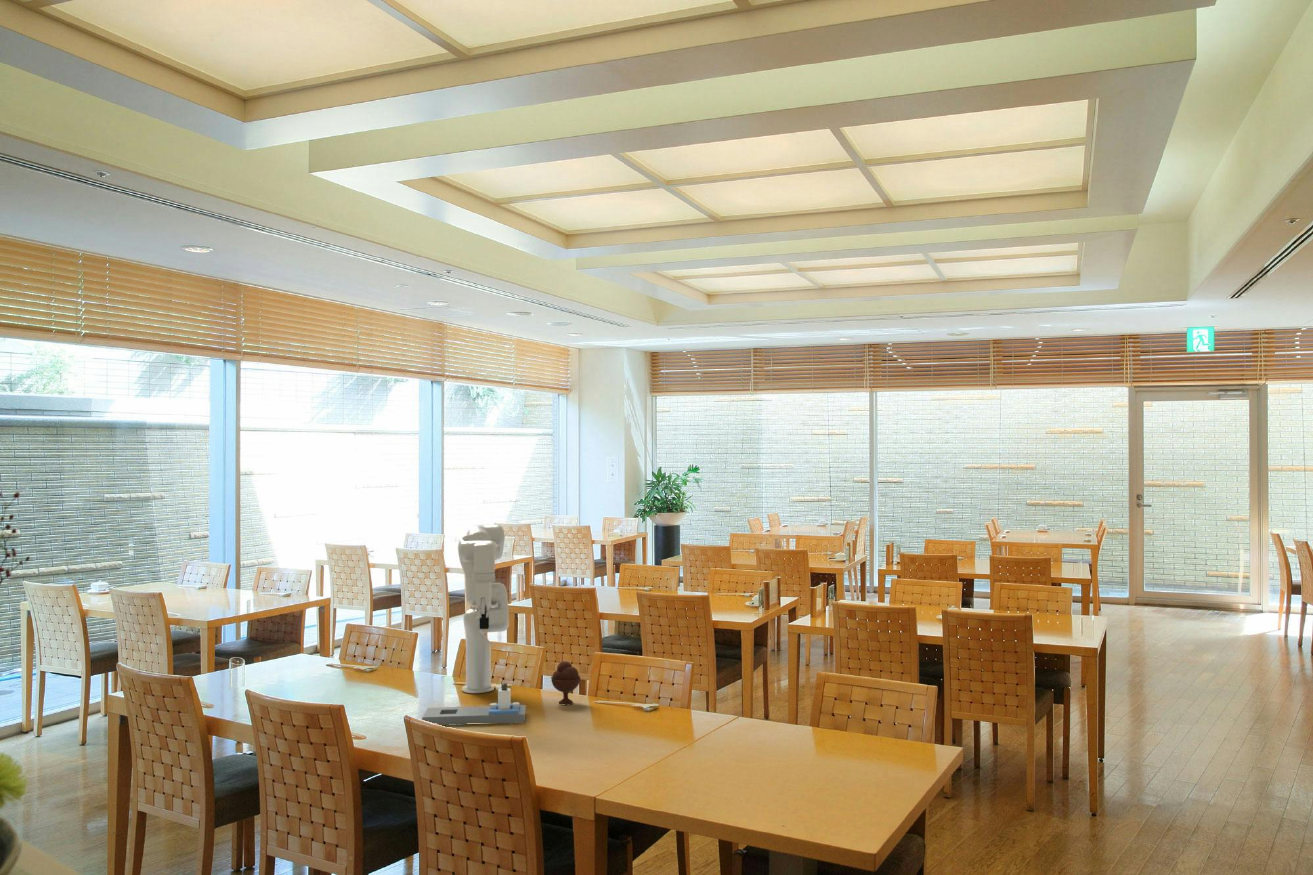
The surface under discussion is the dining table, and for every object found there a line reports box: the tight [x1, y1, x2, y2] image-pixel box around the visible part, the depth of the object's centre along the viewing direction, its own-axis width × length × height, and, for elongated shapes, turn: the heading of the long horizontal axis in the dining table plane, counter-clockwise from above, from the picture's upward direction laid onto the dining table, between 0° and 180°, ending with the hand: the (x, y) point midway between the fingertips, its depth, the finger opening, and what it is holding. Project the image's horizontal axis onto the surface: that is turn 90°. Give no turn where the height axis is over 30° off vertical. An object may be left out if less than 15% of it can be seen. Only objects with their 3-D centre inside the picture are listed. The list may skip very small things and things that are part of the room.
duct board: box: [421, 701, 527, 726], centre depth 319 cm, size 12×34×5 cm, turn 95°
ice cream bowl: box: [550, 661, 581, 705], centre depth 340 cm, size 11×11×15 cm
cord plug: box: [497, 682, 512, 709], centre depth 320 cm, size 4×4×12 cm
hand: (484, 628), depth 332 cm, fingers closed
